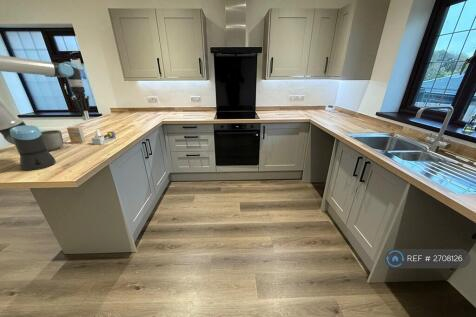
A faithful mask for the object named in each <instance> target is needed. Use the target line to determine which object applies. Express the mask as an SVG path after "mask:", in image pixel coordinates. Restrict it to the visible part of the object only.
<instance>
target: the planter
mask: <svg viewBox="0 0 476 317" xmlns="http://www.w3.org/2000/svg"><path fill="white" fill-rule="evenodd" d="M41 134H42V137H43V140H44V142H45V145H46V148H47V150H48V152H55V151H59V150H60V149H61V148H62V147H63V145H64V138H63V135H62V131H61V130H57V129H54V130H53V129H52V130H43V131H41Z"/></svg>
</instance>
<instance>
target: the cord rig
mask: <svg viewBox="0 0 476 317" xmlns="http://www.w3.org/2000/svg"><path fill="white" fill-rule="evenodd" d="M103 136H104V139H105V141H104V142H103V140H102V138H100V137H98V138H96V137H95V136H94V137H92V138H91V142H92V144H91V145H94V146H97V145H98V146H102V145H104V144H108V143H110V142H112V141H114V139H115V140H117V139H116V138H117V137H116V132H115V131H108V132H107V134H103ZM109 141H110V142H109Z"/></svg>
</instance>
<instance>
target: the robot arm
mask: <svg viewBox="0 0 476 317" xmlns="http://www.w3.org/2000/svg"><path fill="white" fill-rule="evenodd" d="M0 72H6V73H17V74H25V75H26V74H27V75H29V74H30V75H37V76H38V75H39V76H44V77H47V78H67V80H68V84H69V86H70V90H71V93H72V96H71V97H70V99H71V100H72V103H73V104H74V107H75V109H76V111H77V112H80V115H81V118H82V120H83V121H90V116H89V115H90V114H89V111H90V109H91V108H90V101H89V100H90V99H89V98H90V96H89V95H86V93H85V92H86V90H85V87H84V83H83V79H82V76H81V71H80V68H79V64H78V63H77V62H75V61H63V62H61V63H60V62H54V61H53V62H51V61H46V60H38V59H31V58H22V57H16V56H9V55H0ZM41 132H42V131H41V129H40V128H39V127H38V126H35V125H30V124H28V125H27V124H26V123H25V122H24V120H21V119H18V118H17V117H16V116H15V115H14V114H13V112H11V111H10V110H9V108H8V107H6V105H4V103H3V102H2V101H1V100H0V135H2V137H3V138H4V140H5V141H6V142H8V143H9V144H11V145H14V146H15V147H16V149H17V152H18V154H19V156H20V157H19V167H20V169H21V171H25V170H26V171H37V170H41V169H46V168H48V167H51V166H53V165H55V164H56V163H57V162H56V159H55V157H54V156H53V155H52V154H51V152H50V151H48V150H47V148H46V145H45V142H44V140H43V137H42V134H41Z"/></svg>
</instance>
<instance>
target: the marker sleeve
mask: <svg viewBox="0 0 476 317" xmlns="http://www.w3.org/2000/svg"><path fill="white" fill-rule="evenodd" d="M95 133H96V135H94V137H96V138H98V137H100V138H102V140H103V142H104V141H105V139H106V138H104V134H101V130H100V129H97V130H96V131H95Z"/></svg>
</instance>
